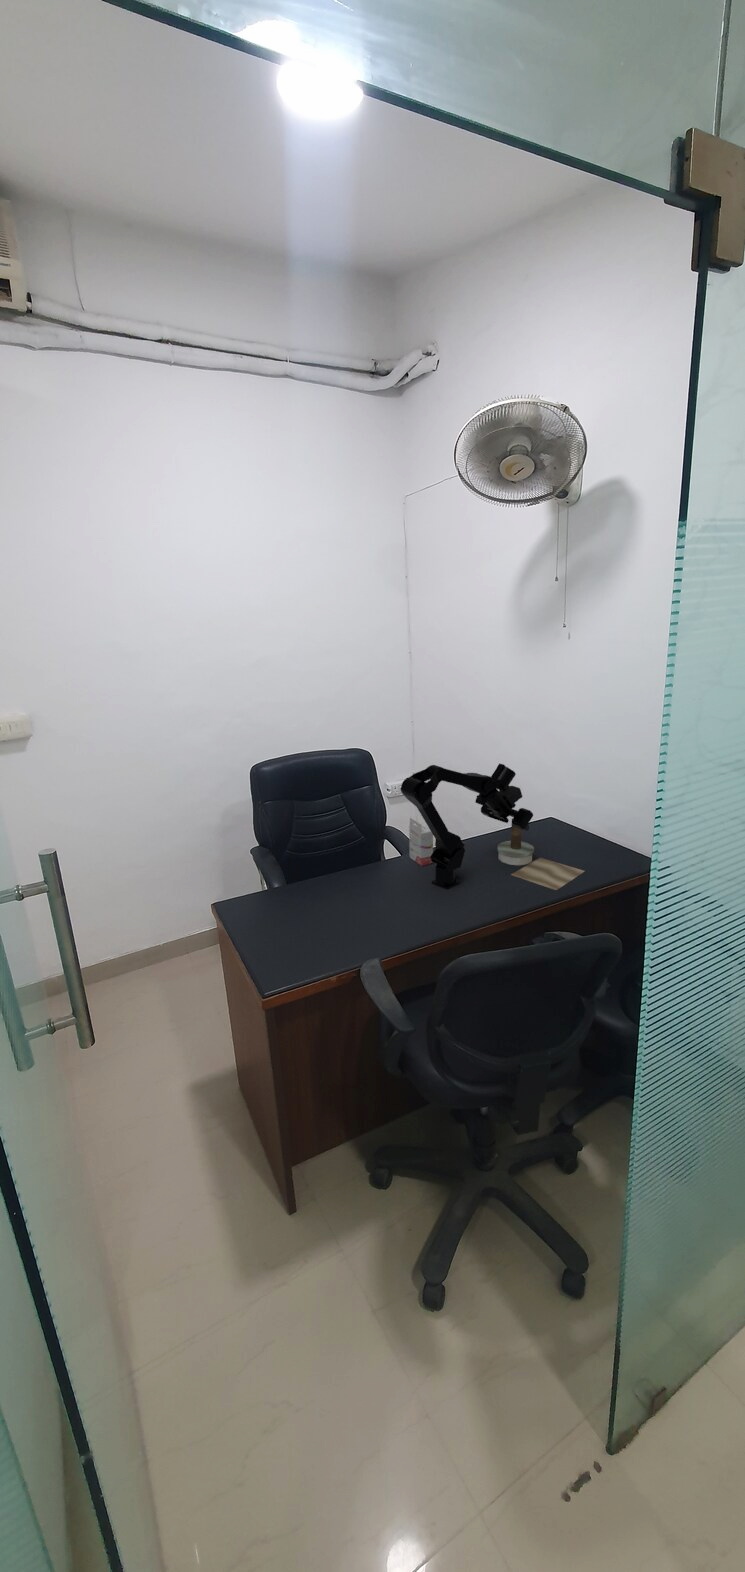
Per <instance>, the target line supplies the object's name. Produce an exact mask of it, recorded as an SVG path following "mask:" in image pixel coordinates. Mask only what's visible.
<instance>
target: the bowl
mask: <svg viewBox="0 0 745 1572" xmlns="http://www.w3.org/2000/svg"><path fill="white" fill-rule="evenodd" d="M497 859H498V860H499V861H501V862H502V863H504V864H507V865H511V866H512V865H513V866H524V865H525V866H526V865H528V864H530V863H532V862H533V854H532V855H530V856H528V857H519V858H518V857H509V856H505V855H503V854H501V853H499V852H498V858H497Z"/></svg>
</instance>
